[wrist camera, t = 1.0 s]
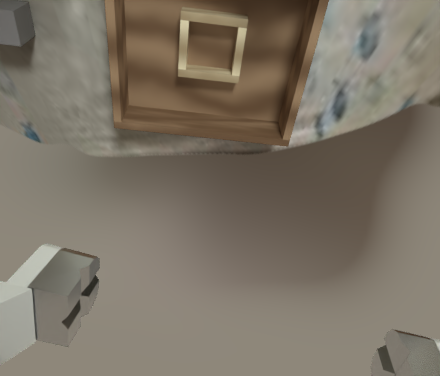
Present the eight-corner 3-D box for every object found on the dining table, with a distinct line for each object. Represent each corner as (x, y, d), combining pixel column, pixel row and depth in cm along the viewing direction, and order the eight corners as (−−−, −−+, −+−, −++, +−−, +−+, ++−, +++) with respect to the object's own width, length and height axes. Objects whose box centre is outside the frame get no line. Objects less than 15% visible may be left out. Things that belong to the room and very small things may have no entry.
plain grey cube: (-5, -3, 45) (-24, 6, 41) (29, 2, 45) (12, 11, 41) (4, 31, 47) (-14, 42, 44) (35, 35, 47) (20, 46, 44)
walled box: (113, -74, 40) (99, -70, 35) (326, -44, 42) (338, -36, 37) (123, 107, 54) (114, 127, 49) (282, 125, 55) (287, 146, 51)
